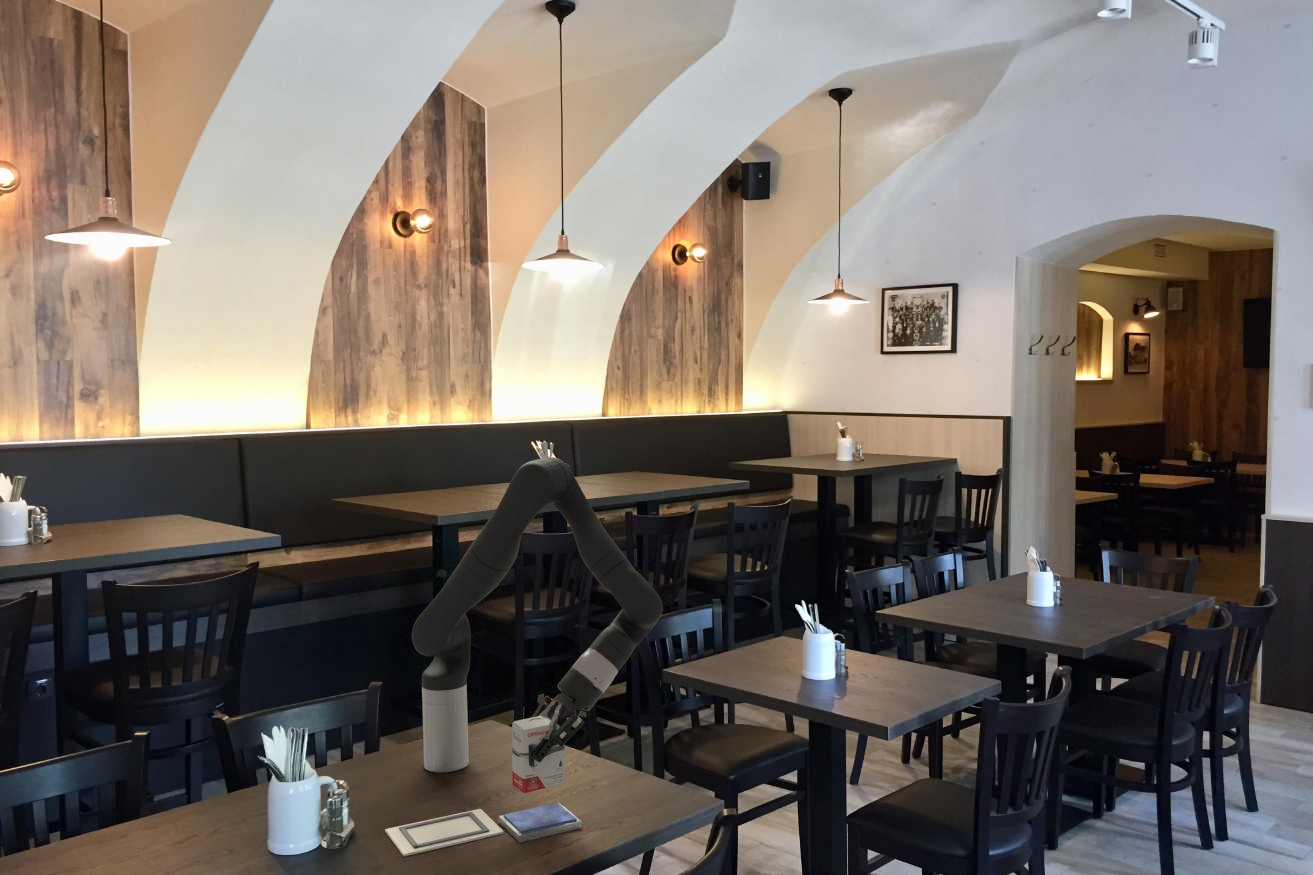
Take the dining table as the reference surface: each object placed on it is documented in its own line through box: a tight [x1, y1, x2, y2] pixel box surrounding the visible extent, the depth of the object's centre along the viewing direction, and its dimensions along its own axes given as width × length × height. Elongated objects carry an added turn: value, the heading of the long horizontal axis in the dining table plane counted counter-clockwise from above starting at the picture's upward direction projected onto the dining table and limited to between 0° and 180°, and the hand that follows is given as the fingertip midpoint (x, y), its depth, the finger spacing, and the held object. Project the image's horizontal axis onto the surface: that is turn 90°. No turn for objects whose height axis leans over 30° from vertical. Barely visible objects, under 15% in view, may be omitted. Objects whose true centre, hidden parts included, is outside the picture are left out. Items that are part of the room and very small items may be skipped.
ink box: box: [511, 716, 566, 794], centre depth 193 cm, size 8×5×12 cm, turn 123°
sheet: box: [384, 808, 505, 857], centre depth 190 cm, size 12×18×1 cm, turn 119°
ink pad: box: [498, 802, 583, 843], centre depth 193 cm, size 10×12×2 cm
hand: (529, 754), depth 192 cm, fingers closed on ink box, 5 cm apart
